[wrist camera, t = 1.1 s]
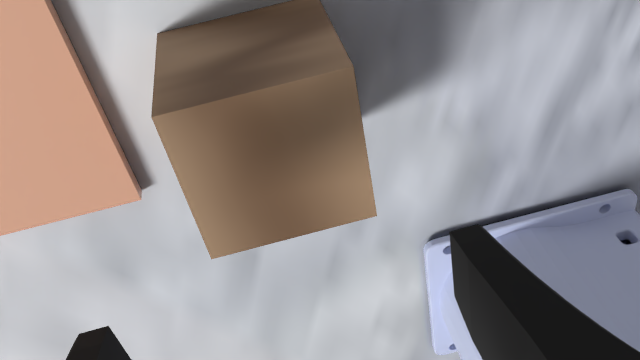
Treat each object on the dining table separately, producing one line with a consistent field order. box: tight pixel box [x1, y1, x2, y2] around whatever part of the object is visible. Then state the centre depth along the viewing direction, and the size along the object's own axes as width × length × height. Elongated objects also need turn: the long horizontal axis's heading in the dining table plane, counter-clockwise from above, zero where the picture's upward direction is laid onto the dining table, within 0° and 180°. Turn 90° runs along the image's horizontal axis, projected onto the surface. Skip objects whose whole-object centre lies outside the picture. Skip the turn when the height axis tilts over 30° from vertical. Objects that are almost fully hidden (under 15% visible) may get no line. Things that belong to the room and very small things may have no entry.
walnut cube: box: [152, 0, 377, 259], centre depth 18 cm, size 5×5×5 cm
